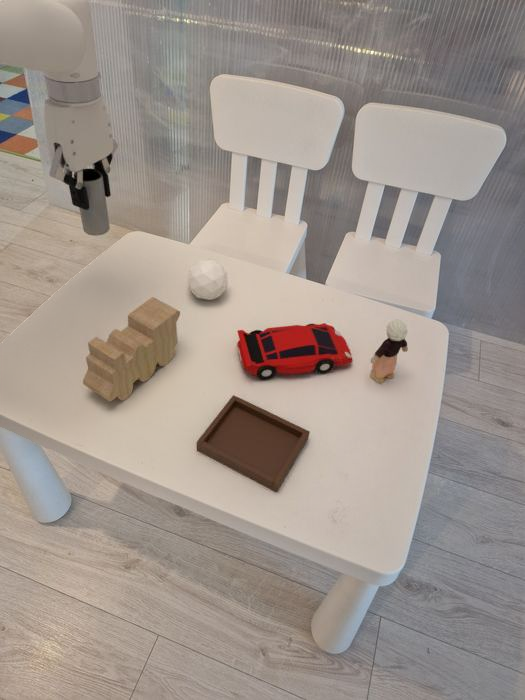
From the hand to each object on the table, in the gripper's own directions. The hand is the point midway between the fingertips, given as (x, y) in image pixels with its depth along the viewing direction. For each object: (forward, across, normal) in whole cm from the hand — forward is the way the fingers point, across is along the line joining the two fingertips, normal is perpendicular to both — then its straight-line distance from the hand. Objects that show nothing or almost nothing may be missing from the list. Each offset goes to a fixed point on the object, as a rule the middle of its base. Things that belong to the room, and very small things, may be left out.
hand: (91, 199), depth 89 cm
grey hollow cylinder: (+6, 0, 0) cm, 6 cm away
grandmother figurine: (+19, -7, +54) cm, 58 cm away
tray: (+20, +17, +42) cm, 50 cm away
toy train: (+20, +14, +18) cm, 31 cm away
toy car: (+19, -3, +40) cm, 44 cm away
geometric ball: (+19, -9, +18) cm, 28 cm away
